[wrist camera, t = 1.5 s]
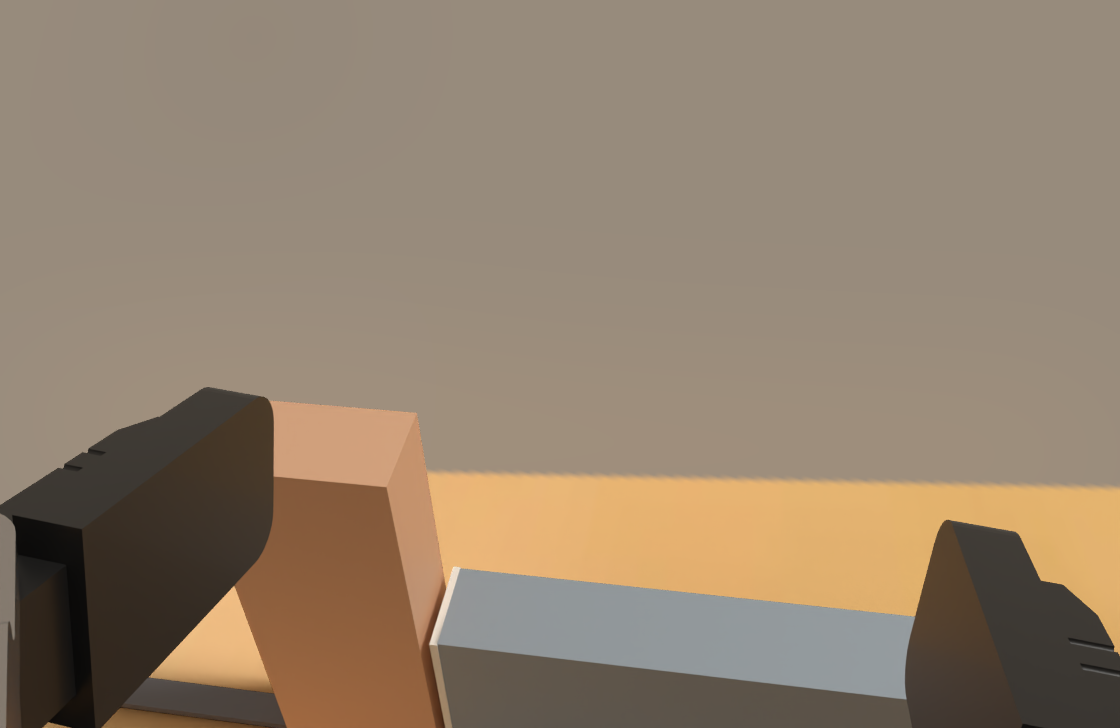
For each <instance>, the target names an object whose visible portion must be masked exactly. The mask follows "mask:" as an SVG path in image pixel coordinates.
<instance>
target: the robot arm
mask: <svg viewBox="0 0 1120 728" xmlns="http://www.w3.org/2000/svg"><path fill="white" fill-rule="evenodd" d="M273 500H274V415H273V409H272V406H271V403H270V402H269V400H268V399H267V398H265V397H261V396H255V395H250V394H243V393H238V392H233V391H227V390H222V389H216V388H210V387H206V388H203V389H201V390H200V391H198V392H197V393H195V394H194V395H192V396H191V397H189V398H188V399H186V400H185V401H183V402H181V403H180V404H178V405H177V406H176V407H174V408H173V409H171V410H169V411H168V412H166V413H165V414H164V415H162V416H160V417H156V418H153V419H150V420H147V421H144V422H141V423H138V424H135V425H132V426H129V427H126V428H122V429H119V430H117V431H116V432H114V433H112V434H111V435H109V436H108V437H106V438H104V439H103V440H101V441H100V442H98V443H97V444H95V445H94V446H92V447H90V448H89V449H88V453H81V454H79V455H78V456H76V457H75V458H73V459H72V460H70V461H68V462H67V463H65V465H64V468H63V469H61V468H57V469H56V470H54V471H53V472H51V473H50V474H48V475H47V476H45V477H43V478H42V479H40V480H39V481H37V482H36V483H34V484H32V485H31V486H29V487H28V488H26V489H25V490H23V491H22V492H20V493H18V494H17V495H15V496H14V497H12V498H11V499H9V500H7V501H6V502H4V503H3V504H1V505H0V728H42V727H43V726H44V725H46V724H47V723H48V722H50V723H54V724H58V725H63V726H67V727H71V728H101V727H102V726H103V725H104V724H105V723H106V722H107V721H108V720H109V719H110V718H111V717H112V715H113V714H114V713H115V712H116V711H117V710H118V709H119V708H120V707H121V706H122V705H123V704H124V703H125V702H126V701H127V699H128V698H129V697H130V696H131V695H132V694H133V693H134V692H135V691H136V690H137V689H138V688H139V687H140V686H141V684H142V683H143V682H144V681H145V680H146V679H147V678H148V677H149V676H150V675H151V674H152V673H153V672H154V671H155V670H156V668H157V667H158V666H159V665H160V664H161V663H162V662H163V661H164V660H165V659H166V658H167V657H168V656H169V655H170V653H171V652H172V651H173V650H174V649H175V648H176V647H177V646H178V645H179V644H180V643H181V642H182V641H183V640H184V639H185V637H186V636H187V635H188V634H189V633H190V632H191V631H192V630H193V629H194V628H195V627H196V626H197V625H198V624H199V623H200V621H201V620H202V619H203V618H204V617H205V616H206V615H207V614H208V613H209V612H210V611H211V610H212V609H213V608H214V606H215V605H216V604H217V603H218V602H219V601H220V600H221V599H222V598H223V597H224V596H225V595H226V594H227V593H228V592H229V590H230V589H231V588H232V587H233V586H234V585H235V584H236V583H237V582H238V581H239V580H240V579H241V578H242V577H243V575H244V574H245V573H246V572H247V571H248V570H249V569H250V568H251V567H252V566H253V565H254V564H255V563H256V561H257V560H258V559H259V557H260V556H261V554H262V552H263V550H264V548H265V546H266V543H267V541H268V538H269V534H270V531H271V526H272V521H273ZM905 693H906V699H907V704H908V709H909V714H910V719H911V724H912V728H1120V656H1119V654H1118V653H1117V652H1114V645H1113V643H1112V641H1111V639H1110V637H1109V635H1108V634H1107V632H1106V630H1105V628H1104V626H1103V624H1102V623H1101V621H1100V619H1099V617H1098V615H1097V614H1096V613H1094V612H1093V611H1092V610H1091V609H1090V608H1089V607H1088V606H1086V605H1085V604H1084V603H1083V602H1082V601H1081V600H1080V599H1078V598H1077V597H1076V596H1075V595H1074V594H1073V593H1072V592H1070V591H1069V590H1068V589H1067V588H1066V587H1065V586H1064V585H1061V584H1056V583H1050V582H1045V581H1041V580H1040V578H1039V576H1038V574H1037V572H1036V570H1035V568H1034V566H1033V563H1032V561H1031V559H1030V557H1029V555H1028V553H1027V551H1026V549H1025V547H1024V544H1023V542H1022V540H1021V538H1020V536H1019V535H1018V534H1017V533H1016V532H1013V531H1007V530H1002V529H996V528H990V527H985V526H979V525H973V524H968V523H962V522H957V521H951V520H946V521H944V522H943V524H942V525H941V527H940V529H939V531H938V534H937V537H936V540H935V543H934V547H933V551H932V555H931V558H930V562H929V566H928V570H927V574H926V577H925V581H924V585H923V589H922V593H921V597H920V600H919V604H918V608H917V612H916V616H915V619H914V623H913V627H912V631H911V635H910V639H909V644H908V649H907V656H906V665H905Z"/></svg>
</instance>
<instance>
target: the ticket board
mask: <svg viewBox="0 0 1120 728" xmlns="http://www.w3.org/2000/svg"><path fill="white" fill-rule="evenodd" d="M914 619H915V617H912V616H903V615H894V614H884V613H875V612H865V611H856V610H847V609H837V608H828V607H818V606H809V605H799V604H790V603H781V602H771V601H762V600H752V599H743V598H734V597H724V596H715V595H705V594H696V593H686V592H677V591H668V590H658V589H649V588H639V587H630V586H621V585H611V584H602V583H592V582H583V581H574V580H564V579H555V578H545V577H536V576H526V575H517V574H508V573H498V572H489V571H479V570H470V569H461V567H453V570H452V573H451V576H450V579H449V583H448V586H447V589H446V592H445V595H444V599H443V602H442V605H441V608H440V612H439V615H438V618H437V621H436V624H435V628H434V631H433V634H432V637H431V640H430V644H429V646H430V651H431V656H432V662H433V667H434V672H435V677H436V682H437V687H438V693H439V698H440V703H441V708H442V713H443V718H444V724H445V728H912V724H911V719H910V714H909V709H908V704H907V699H906V693H905V665H906V656H907V649H908V644H909V639H910V635H911V631H912V627H913V623H914ZM121 707H124V708H131V709H138V710H146V711H153V712H161V713H168V714H176V715H183V716H191V717H198V718H206V719H213V720H221V721H228V722H236V723H243V724H251V725H258V726H266V727H273V728H287V726H286V724H285V721H284V718H283V716H282V713H281V710H280V708H279V705H278V702H277V699H276V697H275V694H272V693H265V692H257V691H249V690H241V689H233V688H226V687H218V686H210V685H202V684H195V683H187V682H179V681H171V680H163V679H156V678H147V679H146V680H145V681H144V682H143V683H142V684H141V686H140V687H139V688H138V689H137V690H136V691H135V692H134V693H133V694H132V695H131V696H130V697H129V698H128V699H127V701H126V702H125V703H124V704H123V705H122V706H121Z"/></svg>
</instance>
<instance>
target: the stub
mask: <svg viewBox="0 0 1120 728" xmlns="http://www.w3.org/2000/svg"><path fill="white" fill-rule="evenodd" d="M269 402H270V403H271V406H272V409H273V415H274V500H273V521H272V526H271V531H270V534H269V538H268V541H267V543H266V546H265V548H264V550H263V552H262V554H261V556H260V557H259V559H258V560H257V561H256V563H255V564H254V565H253V566H252V567H251V568H250V569H249V570H248V571H247V572H246V573H245V574H244V575H243V577H242V578H241V579H240V580H239V581H238V582H237V583H236V584H235V585H234V586H235V588H236V591H237V594H238V597H239V599H240V602H241V605H242V607H243V610H244V613H245V615H246V618H247V621H248V624H249V626H250V629H251V632H252V634H253V637H254V640H255V643H256V645H257V648H258V651H259V653H260V656H261V659H262V661H263V664H264V667H265V670H266V672H267V675H268V678H269V680H270V683H271V686H272V689H273V691H274V694H275V697H276V699H277V702H278V705H279V708H280V710H281V713H282V716H283V718H284V721H285V724H286V726H287V728H445V724H444V718H443V713H442V708H441V703H440V698H439V693H438V687H437V682H436V677H435V672H434V667H433V662H432V656H431V651H430V646H429V644H430V640H431V637H432V634H433V631H434V628H435V624H436V621H437V618H438V615H439V612H440V608H441V605H442V602H443V599H444V595H445V592H446V585H445V579H444V573H443V567H442V561H441V555H440V549H439V543H438V537H437V531H436V525H435V519H434V514H433V508H432V502H431V496H430V490H429V484H428V478H427V472H426V466H425V460H424V454H423V448H422V442H421V436H420V430H419V424H418V418H417V413H411V412H399V411H387V410H375V409H363V408H351V407H338V406H327V405H314V404H303V403H291V402H279V401H269Z"/></svg>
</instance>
